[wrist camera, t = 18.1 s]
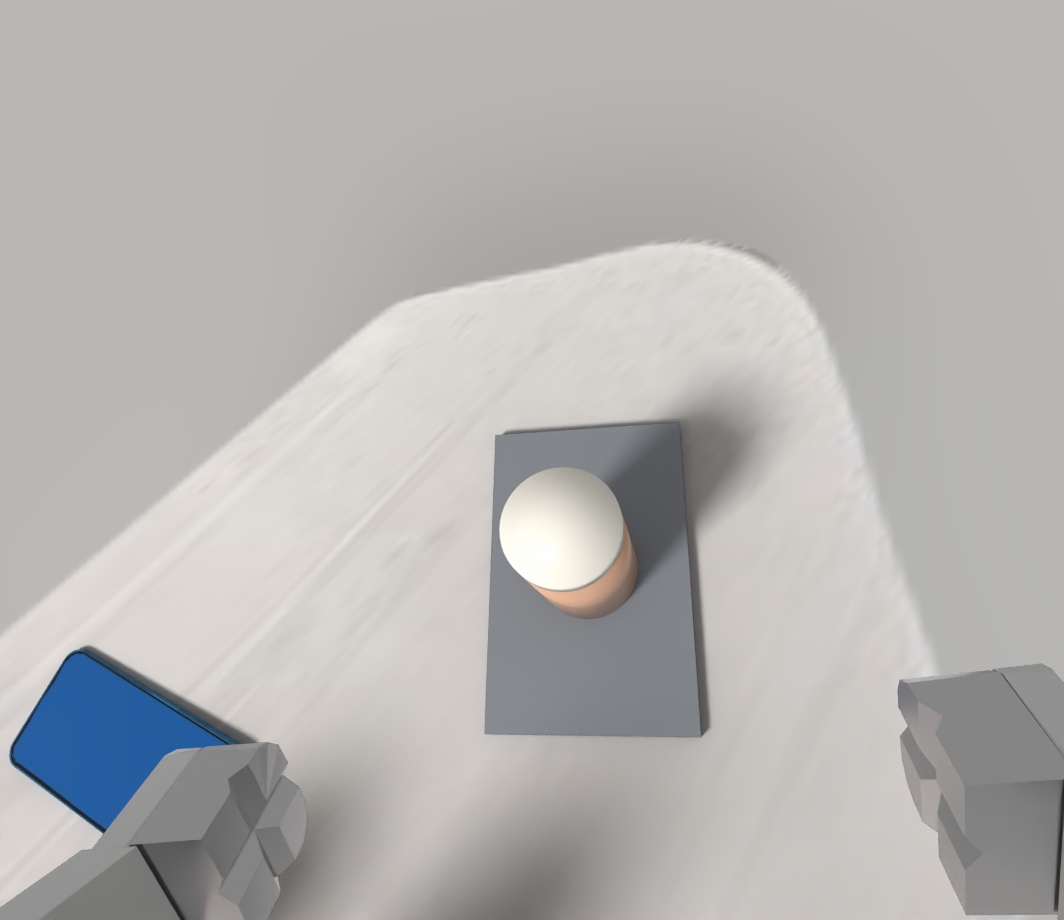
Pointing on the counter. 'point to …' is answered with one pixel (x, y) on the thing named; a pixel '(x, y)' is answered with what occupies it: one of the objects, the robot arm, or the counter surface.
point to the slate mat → (607, 642)
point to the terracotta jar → (570, 542)
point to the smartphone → (102, 737)
